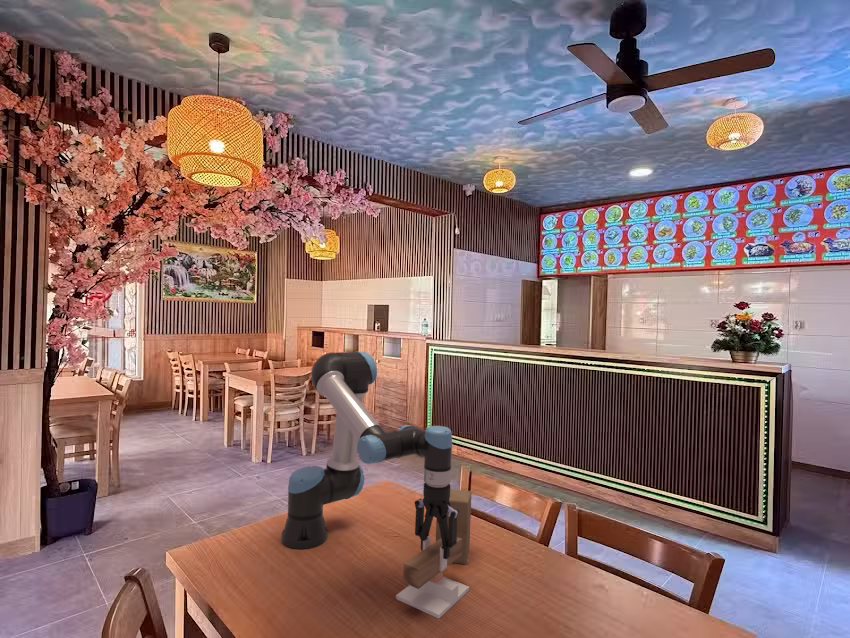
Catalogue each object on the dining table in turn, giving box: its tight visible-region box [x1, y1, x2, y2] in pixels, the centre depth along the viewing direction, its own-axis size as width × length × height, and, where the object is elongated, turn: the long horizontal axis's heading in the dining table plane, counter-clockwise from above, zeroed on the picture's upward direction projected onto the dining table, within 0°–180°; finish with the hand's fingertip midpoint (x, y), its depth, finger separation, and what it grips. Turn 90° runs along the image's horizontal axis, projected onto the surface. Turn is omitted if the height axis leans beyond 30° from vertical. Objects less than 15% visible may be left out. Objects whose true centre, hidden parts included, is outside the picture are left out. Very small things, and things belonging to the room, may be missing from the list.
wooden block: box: [435, 488, 472, 565], centre depth 156 cm, size 10×10×20 cm
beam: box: [402, 537, 462, 589], centre depth 134 cm, size 5×22×5 cm, turn 145°
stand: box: [395, 570, 470, 619], centre depth 134 cm, size 14×16×8 cm
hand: (434, 565), depth 134 cm, fingers closed on beam, 5 cm apart
